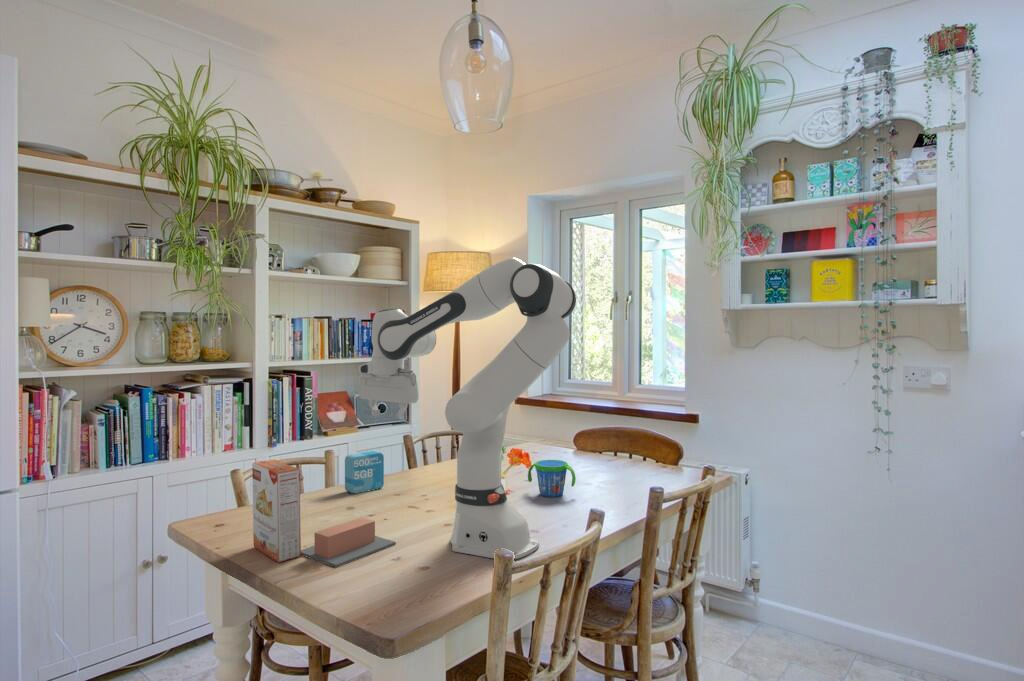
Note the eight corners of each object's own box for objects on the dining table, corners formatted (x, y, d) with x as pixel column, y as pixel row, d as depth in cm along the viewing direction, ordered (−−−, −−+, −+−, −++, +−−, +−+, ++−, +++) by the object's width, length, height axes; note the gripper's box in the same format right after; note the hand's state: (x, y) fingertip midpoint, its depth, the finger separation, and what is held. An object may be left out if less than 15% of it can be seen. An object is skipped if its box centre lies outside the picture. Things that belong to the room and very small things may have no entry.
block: (314, 532, 143) (361, 517, 155) (314, 553, 143) (361, 537, 155) (328, 536, 140) (374, 521, 152) (328, 558, 140) (374, 541, 152)
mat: (395, 544, 151) (395, 541, 151) (336, 567, 137) (336, 564, 137) (357, 532, 160) (357, 530, 160) (297, 553, 145) (297, 551, 145)
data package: (351, 495, 195) (351, 457, 195) (344, 492, 199) (344, 455, 198) (384, 488, 204) (384, 452, 204) (376, 485, 207) (376, 450, 207)
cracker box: (251, 548, 149) (251, 462, 148) (276, 541, 153) (275, 458, 152) (276, 564, 139) (275, 472, 138) (301, 557, 143) (301, 467, 142)
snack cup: (521, 494, 196) (522, 463, 196) (537, 487, 205) (537, 457, 205) (566, 502, 188) (566, 469, 188) (580, 494, 198) (580, 462, 197)
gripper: (423, 368, 167) (423, 419, 167) (371, 365, 178) (371, 413, 179) (407, 370, 161) (407, 422, 162) (354, 366, 173) (354, 415, 173)
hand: (387, 417), depth 170 cm, fingers open, 8 cm apart
